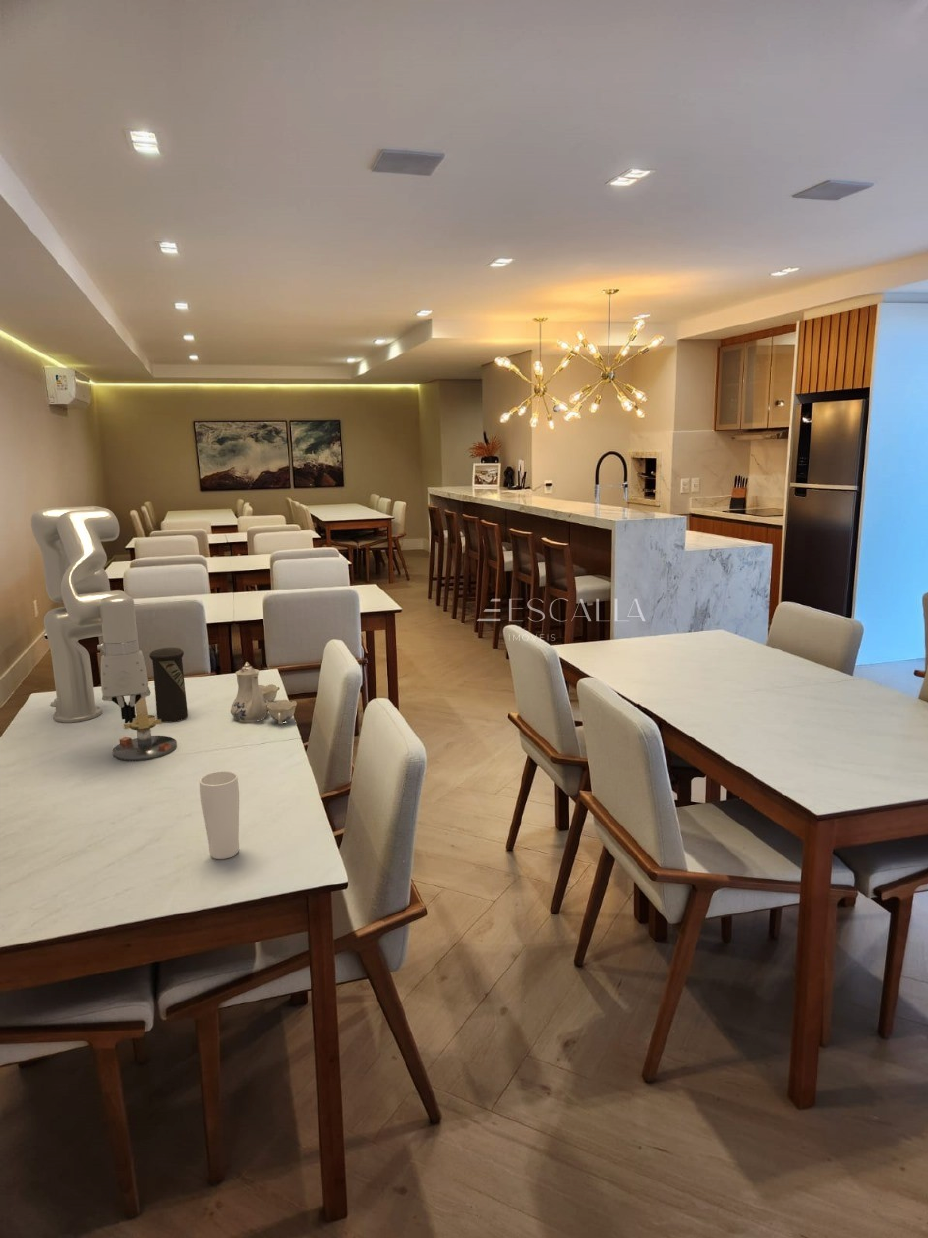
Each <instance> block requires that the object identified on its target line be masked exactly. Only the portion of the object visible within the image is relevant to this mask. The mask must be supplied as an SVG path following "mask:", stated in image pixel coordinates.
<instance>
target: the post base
mask: <svg viewBox="0 0 928 1238" xmlns="http://www.w3.org/2000/svg"><path fill="white" fill-rule="evenodd" d="M118 741H119V744H117V745H115V746H114V747H113V749H112V756H113V758H115V759H116V760H119V761H121V762H122V761H123V762H143V761H144V762H145V761H151V760H155V759H158V758H162V757H164V756H168V755H170V754H172V753H173V752H174V751H175V750H176V749H177V748H178V742H177V740H176V739H175V738H173V737H171V736H166V735H152V732H151V728H150V729H146V730H136V737H135V738H132V737H128V736H124V737H122V738H119V740H118Z"/></svg>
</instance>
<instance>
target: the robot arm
mask: <svg viewBox="0 0 928 1238" xmlns="http://www.w3.org/2000/svg"><path fill="white" fill-rule="evenodd" d="M30 527H31V531H32V535H33V537H34V539H35V541H36V543H37V545H38V546H39V549H40V552H41V555H42V556H41V557H42V563H43V573H44V582H45V589H46V594H47V596H48V598H49V600H51V602H54V603H63V604H64V606H60V607H56V608H52V609H50V610H49V611H47V612H46V613H45V615H44V617H43V626H44V630H45V633H46V637H47V641H48V644H49V649H50V654H51V661H52V669H53V670H52V671H53V677H54V684H55V693H56V698H54V699H53V701H51V703H50V705H49V706H50V707H51V708H55V710H56V711H55V712H54V713H53V714H52V719H53V720H54V721H55V722H57V723H77V722H84V721H88V720H92V719H94V718H97V717H99V716H100V715H101V714H102V713H103V710H102V707H101V706H98V705H96V701H95V700H96V699H95V693H94V692H95V691H94V680H93V673H92V664H91V658H90V657H91V656H90V653H89V651H88V650H87V649H86V647H84V645H82V644H80V643H79V640H84V639H89V638H95V637H102V638H103V639H102V641H103V642H102V643H100V644H97V647H96V648H97V651H101V652H103V654H101V655H100V686H101V692H102V697H101V699H102V701H107V702H112V703H114V704H116V705H117V706H118V707H119V708H120V712H121V720H124V724H127V723H132V722H133V718H136V716H137V714H136V706H135V704H136V703H137V702H138V701H139V700H140V699H141V698H144V697H145V698H146V697H149V696H150V695H151V690H150V687H149V677H148V671H147V665H146V661H145V657H144V653H143V651H142V650H141V649H140V648H139V639H138V638H139V637H138V628H137V626H138V625H137V617H136V607H135V600H134V598H133V597H132V596H130V595H128V593H127V592H126V591H123V590H120V589H116V590H111V587H110V586H111V584H110V580H109V579H110V578H109V576H108V574H107V572H106V570H105V569H104V567H105V566H106V564H107V561H108V556H107V553H106V551H105V549H104V547H103V545H102V542H113V541H115V540H117V539H118V538H119V535H120V523H119V520H118V517H117V516H116V515H115V513H114V512H113V511H112V510H110V509H108V508H105V507H103V506H102V507H101V506H98V505H97V506H96V505H90V506H89V505H88V506H87V505H86V506H85V505H84V506H64V507H63V506H62V507H61V506H59V507H48V508H42V509H39V510H36V511H34V512H33V513H32V514H31V517H30ZM128 696H129V701H128V704H127V702H126V701H125V697H128Z"/></svg>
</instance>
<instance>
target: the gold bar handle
mask: <svg viewBox="0 0 928 1238" xmlns="http://www.w3.org/2000/svg"><path fill="white" fill-rule="evenodd" d="M146 700H147V699H146V697H144V698H141V699H140V700H139V701H138V702H137V703H136V704H135V715H136V718H133V722H132V723H130V722H128V723H123V729H124V730H129V729H130V730H132V731H137V730H146V729H150V730H151V729H152V728H155V727H156V726H157V725H162V722H161V719H157V718H156V716H155V715H153V714H149V713H148V705H147V701H146Z"/></svg>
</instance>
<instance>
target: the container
mask: <svg viewBox="0 0 928 1238" xmlns="http://www.w3.org/2000/svg"><path fill="white" fill-rule="evenodd" d="M184 654H185V652H184V650H183V649H181V648H180V647H179V648H178V647H164V648H163V647H162V648H158V649H157V648H156V649H154V650H152V651H151V652H150V653H149V655H148V656H149V658H150V661H152V662H151V663H152V671H153V683H154V684H153V685H154V697H155V708H156V710H155V711H156V720H157V719H161V723H162V722H163V723H174V722H175V723H176V722H181V721H184V720H187V718H188V717H189V713H188V702H187V692H186V685H185V684H186V683H185V675H184V664H183V657H184Z"/></svg>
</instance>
